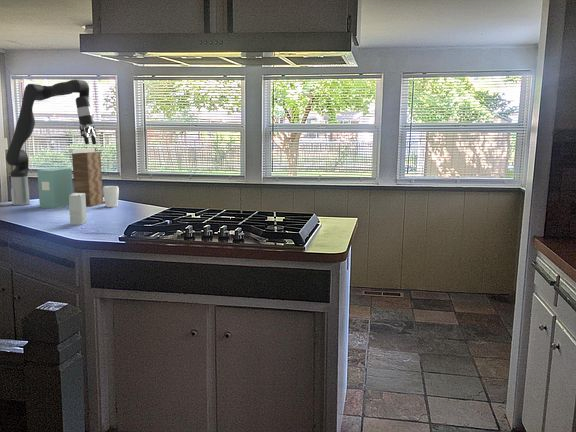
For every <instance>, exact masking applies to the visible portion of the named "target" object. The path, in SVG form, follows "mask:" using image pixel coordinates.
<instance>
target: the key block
mask: <svg viewBox="0 0 576 432" xmlns="http://www.w3.org/2000/svg"><path fill="white" fill-rule="evenodd" d="M36 172H37V185H38V188H37V189H38V201H39V208H42V209H57V208H58V209H59V208H63V207H67V206H69V195H71V194H73V193H74V184H73V169H72V168H71V167H70V168H67V167H66V168H63V167H56V168H45V169H39V170H38V169H37V170H36Z"/></svg>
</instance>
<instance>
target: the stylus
mask: <svg viewBox="0 0 576 432" xmlns="http://www.w3.org/2000/svg"><path fill="white" fill-rule="evenodd" d="M87 152H97V148H96V147H87V148H84V147H83V148H72V149H71V148H70V149H69V148H68V154H71V155H72V154H74V153H87Z"/></svg>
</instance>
